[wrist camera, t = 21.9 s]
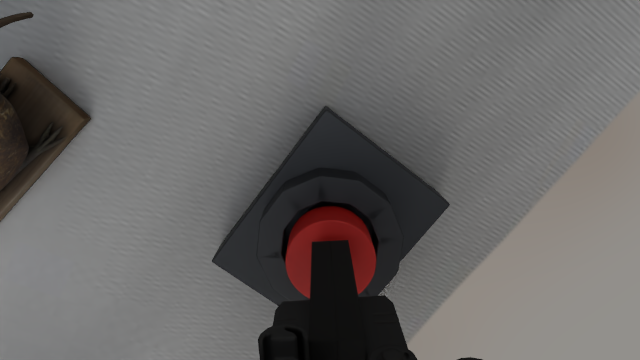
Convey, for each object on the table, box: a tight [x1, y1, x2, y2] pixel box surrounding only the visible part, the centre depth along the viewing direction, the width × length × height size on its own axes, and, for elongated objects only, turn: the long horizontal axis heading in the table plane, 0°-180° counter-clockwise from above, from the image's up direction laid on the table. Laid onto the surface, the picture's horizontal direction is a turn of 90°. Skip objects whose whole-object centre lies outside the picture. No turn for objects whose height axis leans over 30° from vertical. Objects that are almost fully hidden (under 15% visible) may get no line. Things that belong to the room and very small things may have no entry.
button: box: [285, 206, 376, 298], centre depth 19 cm, size 4×4×2 cm
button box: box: [212, 106, 450, 306], centre depth 22 cm, size 10×8×4 cm
